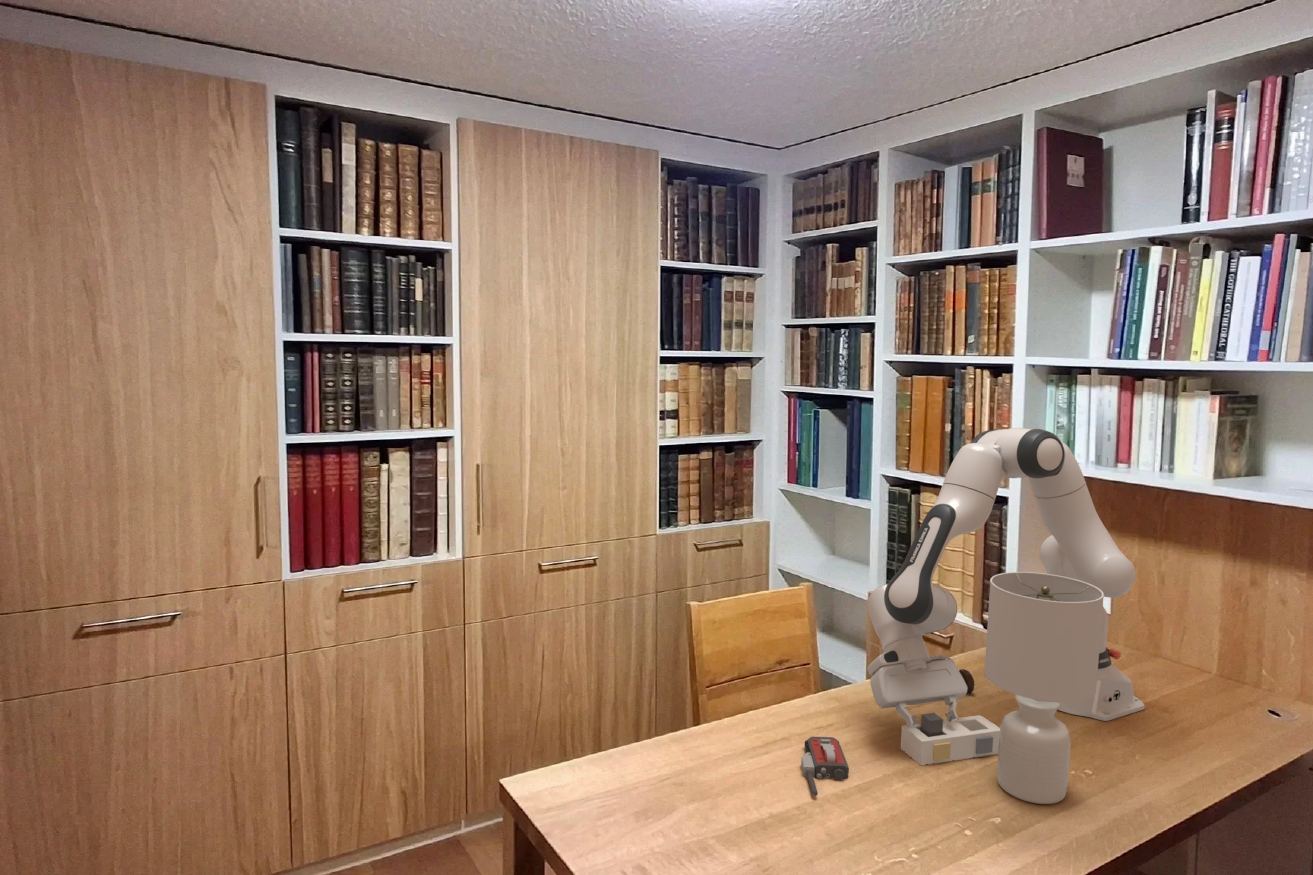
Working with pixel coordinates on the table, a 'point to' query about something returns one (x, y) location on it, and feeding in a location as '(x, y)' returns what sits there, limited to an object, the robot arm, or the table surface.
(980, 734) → the white socket block
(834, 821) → the table surface
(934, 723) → the plug
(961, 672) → the bolt
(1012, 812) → the table surface
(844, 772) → the walkie-talkie
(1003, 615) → the lamp
